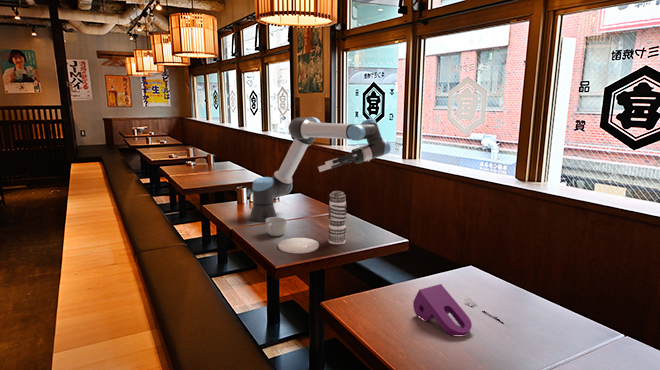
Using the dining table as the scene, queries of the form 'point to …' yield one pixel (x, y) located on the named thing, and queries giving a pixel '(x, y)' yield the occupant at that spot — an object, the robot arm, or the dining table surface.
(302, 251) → the candle plate
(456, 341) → the dining table surface
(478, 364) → the dining table surface
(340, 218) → the decorative candle
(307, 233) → the dining table surface
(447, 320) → the mounting bracket
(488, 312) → the fork
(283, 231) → the teacup
